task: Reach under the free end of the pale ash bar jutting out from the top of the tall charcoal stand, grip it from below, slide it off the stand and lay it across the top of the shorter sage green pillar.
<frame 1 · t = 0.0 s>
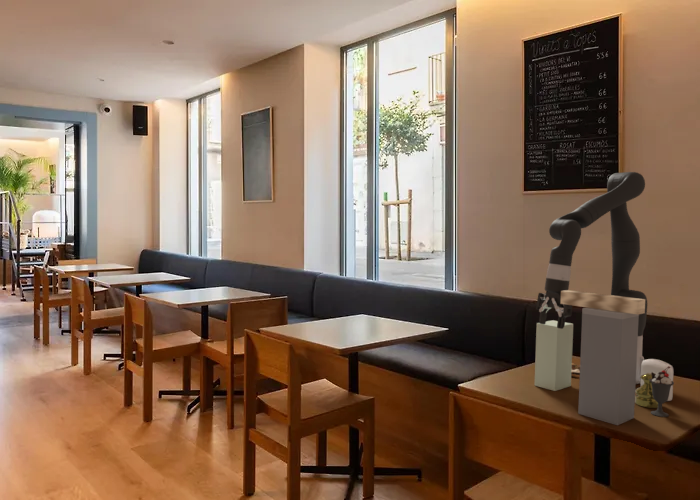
hand: (550, 326, 196), 22 cm above the table, tool pointing down, fingers open, 8 cm apart
sage green pillar: (552, 385, 204), on the table
sushi roll: (574, 375, 221), on the table
sundae: (659, 414, 176), on the table
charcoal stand: (605, 415, 174), on the table
gold buddha statue: (647, 405, 185), on the table
ash bar: (600, 308, 174), point 32 cm above the table, touching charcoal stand
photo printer: (655, 397, 194), on the table
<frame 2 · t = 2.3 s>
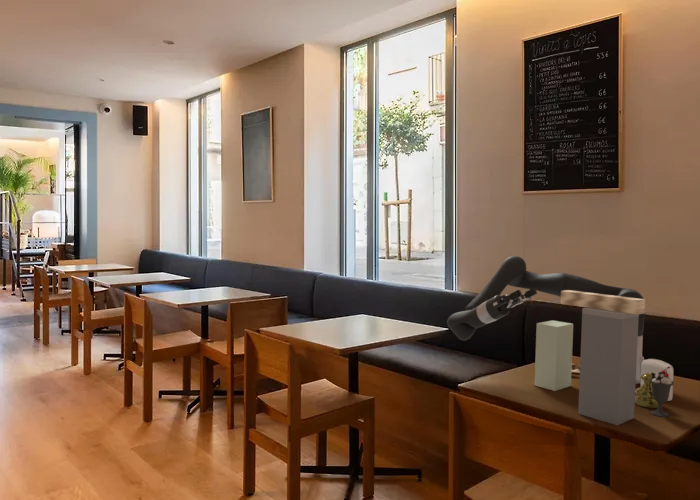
hand: (528, 291, 194), 34 cm above the table, tool pointing upward, fingers open, 8 cm apart
nothing on the table moved.
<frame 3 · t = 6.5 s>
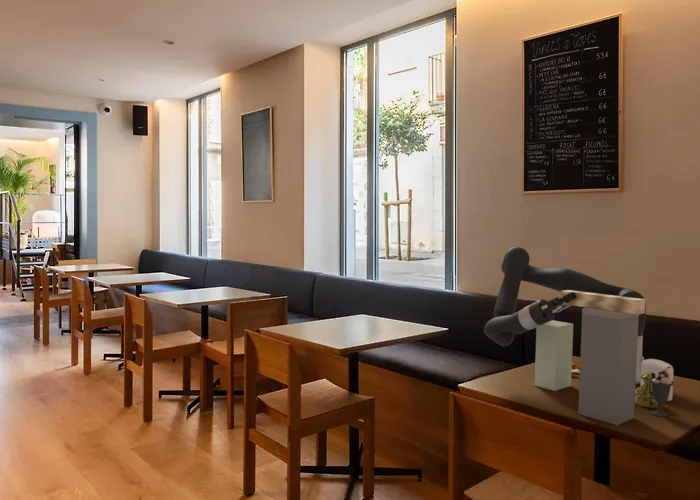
hand: (579, 294, 180), 35 cm above the table, tool pointing upward, fingers closed on ash bar, 4 cm apart
ash bar: (600, 308, 174), point 32 cm above the table, touching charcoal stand, gripper
everything else where it was.
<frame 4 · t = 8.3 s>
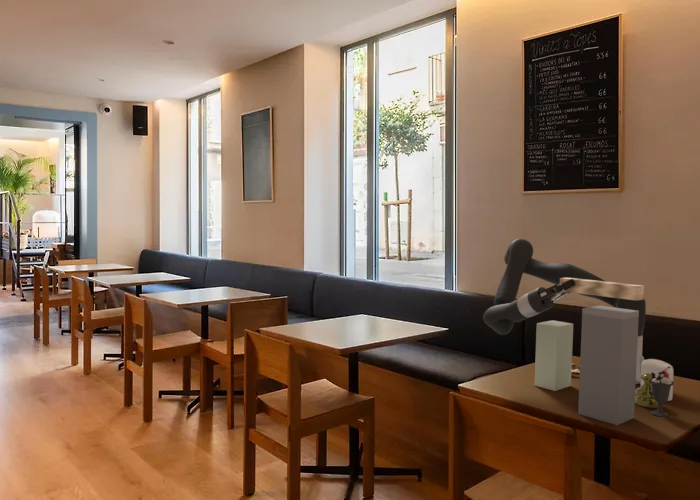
hand: (577, 281, 180), 39 cm above the table, tool pointing upward, fingers closed on ash bar, 4 cm apart
ash bar: (599, 294, 175), point 36 cm above the table, touching gripper
everything else where it was.
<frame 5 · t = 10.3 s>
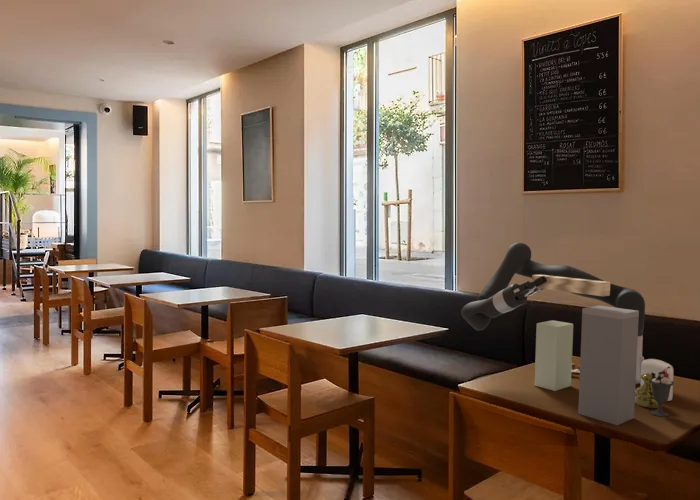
hand: (549, 278, 187), 39 cm above the table, tool pointing upward, fingers closed on ash bar, 4 cm apart
ash bar: (569, 291, 182), point 36 cm above the table, touching gripper
everything else where it was.
when the fingers open (28 cm above the table, at t = 17.8 s): ash bar drops 2 cm, resting on sage green pillar.
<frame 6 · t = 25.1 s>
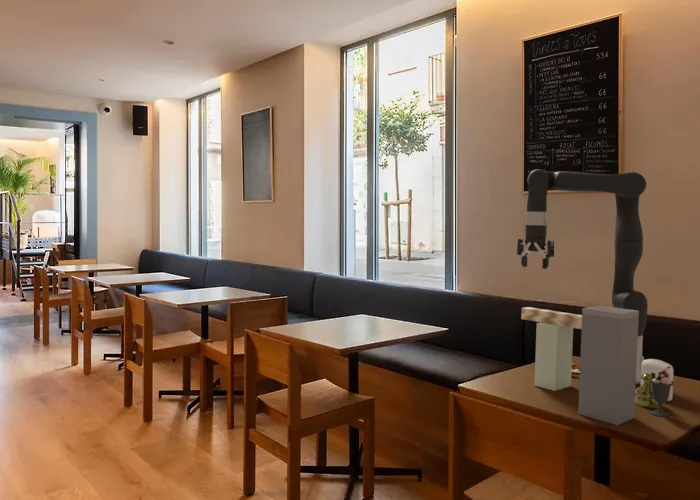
hand: (534, 267, 217), 40 cm above the table, tool pointing down, fingers open, 8 cm apart
ash bar: (554, 323, 203), point 22 cm above the table, touching sage green pillar
everything else where it was.
at the end: ash bar inside the target area on the sage green pillar (0.3 cm from its centre), point 22.0 cm above the sage green pillar's base; ash bar touching sage green pillar; the gripper is holding nothing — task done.
